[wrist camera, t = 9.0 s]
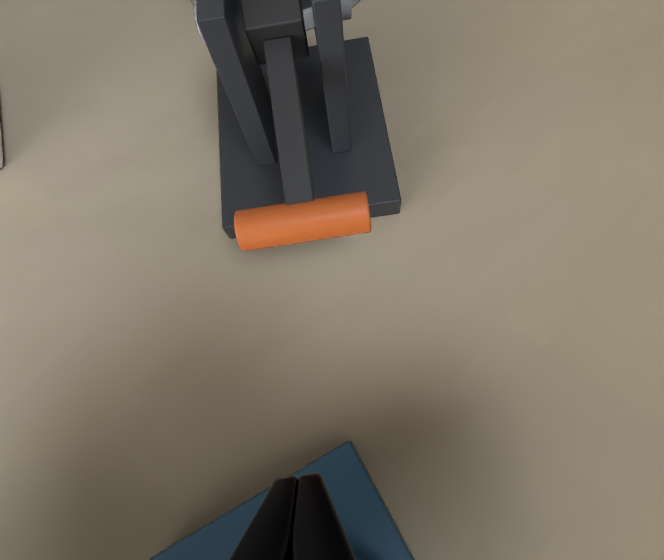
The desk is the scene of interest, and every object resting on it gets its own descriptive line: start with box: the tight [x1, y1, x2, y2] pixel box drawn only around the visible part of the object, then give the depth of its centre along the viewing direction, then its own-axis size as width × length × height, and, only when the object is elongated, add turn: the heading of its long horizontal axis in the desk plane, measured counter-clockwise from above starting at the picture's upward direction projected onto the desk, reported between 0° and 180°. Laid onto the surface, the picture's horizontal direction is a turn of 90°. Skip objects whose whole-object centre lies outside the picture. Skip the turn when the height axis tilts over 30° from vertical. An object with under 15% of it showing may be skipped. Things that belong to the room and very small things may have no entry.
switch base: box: [194, 0, 401, 238], centre depth 20 cm, size 11×9×10 cm
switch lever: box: [234, 0, 371, 251], centre depth 17 cm, size 11×5×2 cm, turn 7°
